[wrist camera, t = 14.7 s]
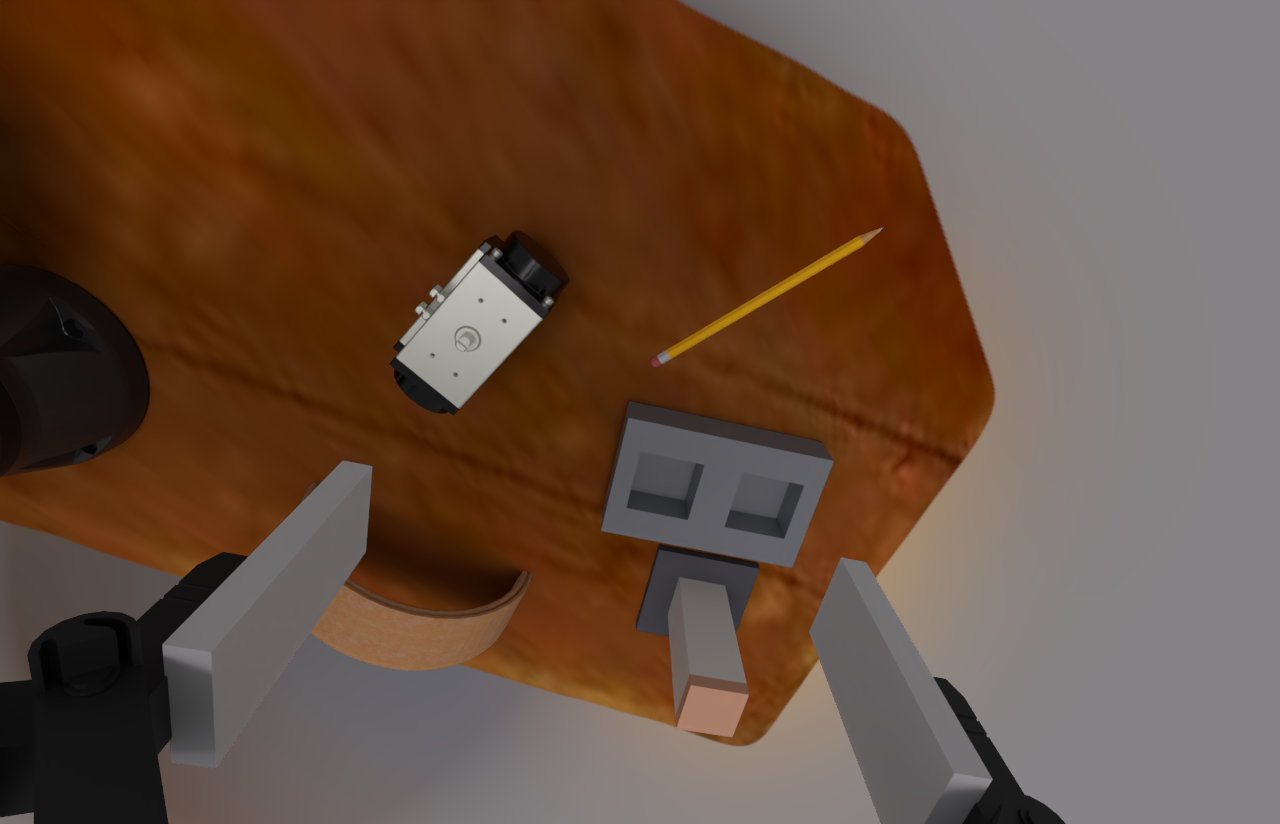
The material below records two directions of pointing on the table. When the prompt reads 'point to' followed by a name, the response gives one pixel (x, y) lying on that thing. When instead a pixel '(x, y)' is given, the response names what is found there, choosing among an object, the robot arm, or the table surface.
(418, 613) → the arch
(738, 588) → the mat
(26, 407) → the robot arm
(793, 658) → the table surface
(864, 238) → the pencil
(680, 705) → the plug
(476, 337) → the pneumatic valve
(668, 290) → the table surface
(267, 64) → the table surface
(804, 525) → the grey boxy piece
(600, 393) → the table surface
